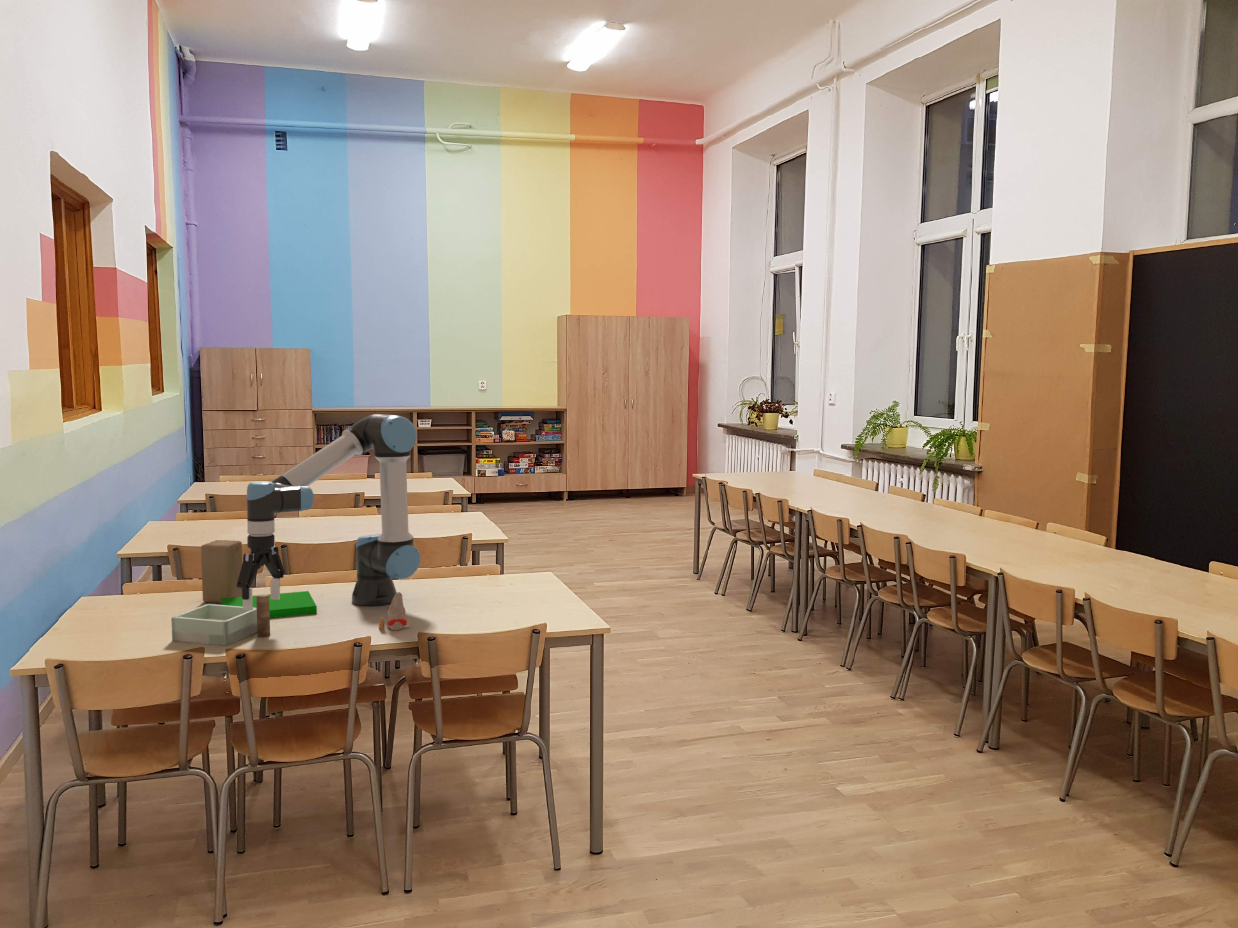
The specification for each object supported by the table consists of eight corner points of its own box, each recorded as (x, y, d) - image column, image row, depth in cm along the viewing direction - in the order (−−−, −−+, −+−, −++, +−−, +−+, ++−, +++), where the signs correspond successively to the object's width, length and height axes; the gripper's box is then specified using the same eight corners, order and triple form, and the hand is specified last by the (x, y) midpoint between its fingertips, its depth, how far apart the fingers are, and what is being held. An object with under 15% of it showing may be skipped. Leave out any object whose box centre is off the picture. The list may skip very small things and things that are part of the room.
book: (220, 607, 307) (220, 598, 306) (308, 599, 319) (308, 590, 318) (223, 624, 286) (222, 615, 286) (316, 615, 298) (316, 606, 298)
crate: (260, 630, 278) (259, 608, 278) (226, 645, 263) (225, 621, 262) (208, 625, 282) (207, 603, 282) (172, 640, 267) (171, 617, 266)
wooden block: (244, 596, 319) (242, 540, 317) (229, 604, 309) (227, 545, 307) (217, 595, 320) (215, 539, 318) (201, 602, 310) (199, 544, 308)
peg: (272, 634, 275) (271, 594, 274) (265, 637, 272) (264, 597, 270) (262, 633, 276) (261, 594, 275) (254, 636, 272) (253, 597, 271)
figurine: (406, 623, 288) (409, 588, 285) (410, 632, 282) (413, 596, 279) (377, 625, 284) (379, 589, 281) (380, 634, 278) (383, 597, 275)
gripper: (274, 527, 283) (275, 594, 285) (222, 540, 259) (223, 613, 261) (296, 528, 282) (296, 596, 284) (246, 542, 258) (247, 615, 260)
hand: (261, 604), depth 273 cm, fingers open, 13 cm apart
